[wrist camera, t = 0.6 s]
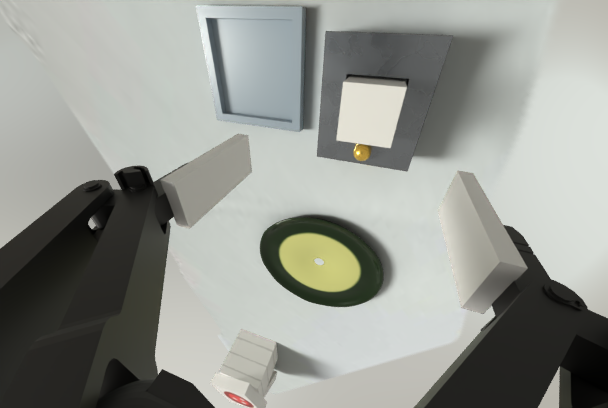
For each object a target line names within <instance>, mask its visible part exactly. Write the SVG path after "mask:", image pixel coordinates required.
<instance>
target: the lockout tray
mask: <svg viewBox="0 0 608 408" xmlns="http://www.w3.org/2000/svg"><path fill="white" fill-rule="evenodd" d="M196 11H197V16H198V21H199V27H200V32H201V37H202V42H203V48H204V53H205V58H206V63H207V69H208V74H209V79H210V84H211V90H212V95H213V100H214V106H215V111H216V116H217V120H219V121H226V122H233V123H240V124H247V125H254V126H261V127H268V128H275V129H282V130H289V131H296V132H300V131H301V130H302V129H303V103H304V67H305V31H306V8H305V7H302V6H204V5H196Z"/></svg>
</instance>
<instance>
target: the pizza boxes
mask: <svg viewBox="0 0 608 408" xmlns="http://www.w3.org/2000/svg"><path fill="white" fill-rule="evenodd" d="M277 359H278V354H277V342H275V341H272V340H270V339H267V338H264V337H262V336H259V335H256V334H254V333H251V332H249V331H246V330H243V329H241V330H240V332H239V334H238V336H237V338H236V340H235V342H234V344H233V345H232V347H231V349H230V351H229V353H228V355H227V357H226V359H225V361H224V363H223V364H222V366H221V368H220V370H219V373H220V374H218V373H215V375H214V377H213V379H212V380H211V382H210V384H211V385H212V386H213V387H214V388H216V389H217V390H218V391H219V392H220V393H221V394H222V395H223V396H224V397H225V398H227V399H228V400H229V401H230V402H233V403H235V404H238V405H241V406H244V407H246V408H265V407H266V404H267V401H266V400H265V399H264V397H265V395H266V394H267V392H268V391H269V389H270V387H271V386H272V384H273V383H274V381H275V379H276V375H277V371H274V367H275V364H276V362H277Z"/></svg>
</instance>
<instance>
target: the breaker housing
mask: <svg viewBox="0 0 608 408" xmlns="http://www.w3.org/2000/svg"><path fill="white" fill-rule="evenodd" d="M452 38H453V36H452V35H423V34H394V33H366V32H337V31H326V34H325V48H324V62H323V77H322V91H321V105H320V120H319V134H318V148H317V156H318V157H324V158H330V159H336V160H342V161H348V162H354V163H360V164H366V165H372V166H378V167H384V168H390V169H396V170H402V171H408V168H409V165H410V162H411V159H412V156H413V153H414V150H415V147H416V144H417V141H418V138H419V136H420V133H421V130H422V127H423V124H424V121H425V118H426V115H427V112H428V109H429V106H430V103H431V100H432V97H433V94H434V91H435V88H436V85H437V82H438V79H439V76H440V73H441V70H442V67H443V64H444V61H445V58H446V55H447V52H448V49H449V46H450V44H451V41H452ZM352 74H355V75H368V76H381V77H394V78H406V85H407V89H406V93H405V96H404V100H403V104H402V107H401V111H400V115H399V119H398V122H397V126H396V130H395V133H394V137H393V141H392V145H391V148H385V147H378V146H371V145H364V144H358V143H351V142H344V141H337V140H336V138H337V130H338V121H339V113H340V104H341V96H342V88H343V82H344V81H345V80H346V79H347V78H348V77H350V76H351V75H352Z"/></svg>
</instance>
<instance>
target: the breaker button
mask: <svg viewBox="0 0 608 408" xmlns="http://www.w3.org/2000/svg"><path fill="white" fill-rule="evenodd" d="M406 89H407V85H406V80H405V79H398V78H385V77H372V76H359V75H351V76H350V77H348V78H347V79H346V80H345V81H344V82H343V88H342V96H341V104H340V113H339V121H338V130H337V138H336V140H337V141H344V142H351V143H358V144H364V145H371V146H378V147H385V148H391V145H392V141H393V137H394V133H395V130H396V126H397V122H398V119H399V115H400V111H401V107H402V104H403V100H404V96H405V93H406Z"/></svg>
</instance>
